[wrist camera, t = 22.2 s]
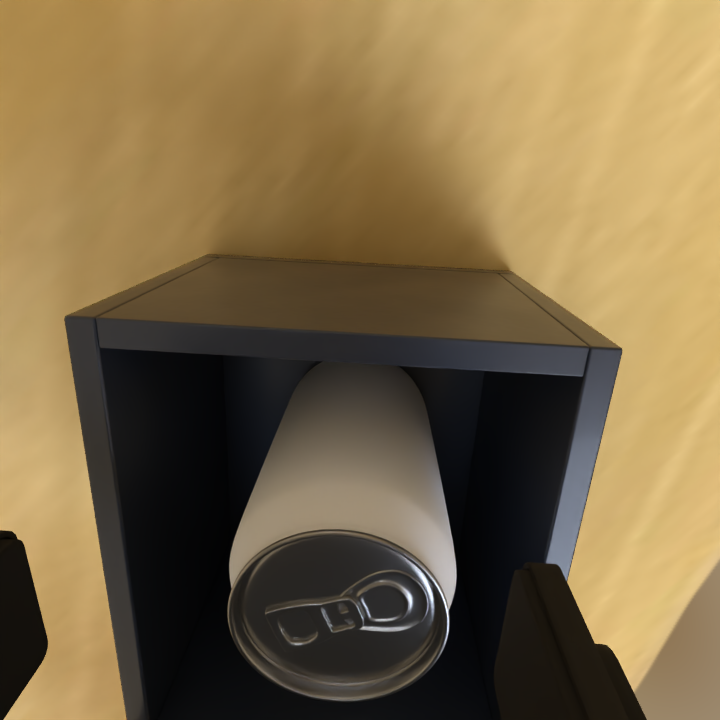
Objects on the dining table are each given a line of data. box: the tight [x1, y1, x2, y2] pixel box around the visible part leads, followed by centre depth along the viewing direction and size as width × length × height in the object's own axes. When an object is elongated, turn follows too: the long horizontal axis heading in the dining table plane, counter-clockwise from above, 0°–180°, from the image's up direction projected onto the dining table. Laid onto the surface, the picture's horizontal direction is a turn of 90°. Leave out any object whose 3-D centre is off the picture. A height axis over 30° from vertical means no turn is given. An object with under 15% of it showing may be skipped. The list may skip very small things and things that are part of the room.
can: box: [227, 361, 456, 702], centre depth 18 cm, size 6×6×12 cm
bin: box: [65, 254, 622, 720], centre depth 20 cm, size 16×14×11 cm
